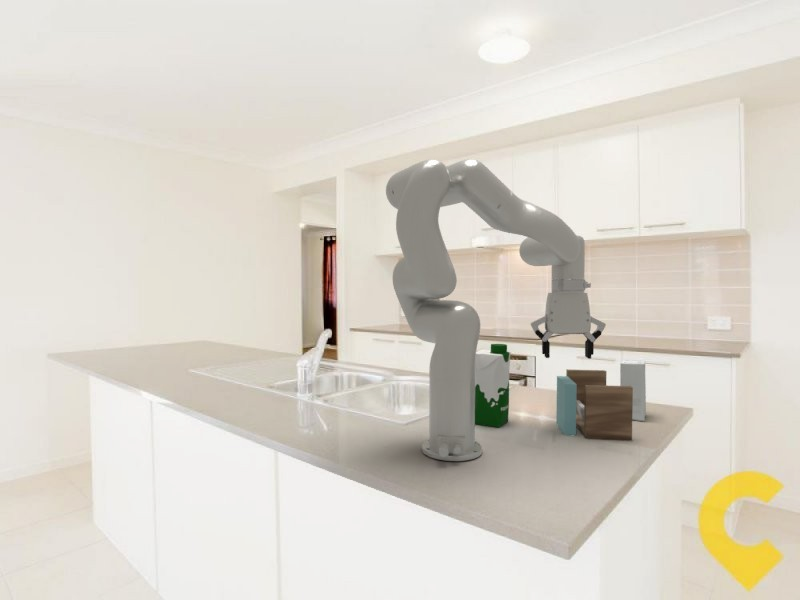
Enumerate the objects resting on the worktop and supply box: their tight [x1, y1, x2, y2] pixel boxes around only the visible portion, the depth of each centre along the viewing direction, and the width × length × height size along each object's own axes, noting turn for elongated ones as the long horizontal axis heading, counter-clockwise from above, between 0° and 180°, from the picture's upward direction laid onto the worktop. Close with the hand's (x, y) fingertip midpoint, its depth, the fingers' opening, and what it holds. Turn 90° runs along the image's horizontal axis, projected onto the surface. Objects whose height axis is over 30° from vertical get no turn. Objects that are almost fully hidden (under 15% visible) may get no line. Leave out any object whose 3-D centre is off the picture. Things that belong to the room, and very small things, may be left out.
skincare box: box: [619, 359, 647, 422], centre depth 128 cm, size 8×6×15 cm
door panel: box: [555, 375, 577, 437], centre depth 116 cm, size 10×3×12 cm, turn 172°
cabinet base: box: [565, 369, 633, 441], centre depth 119 cm, size 22×10×12 cm, turn 172°
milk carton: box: [475, 343, 511, 429], centre depth 122 cm, size 9×9×20 cm
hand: (567, 357), depth 116 cm, fingers open, 9 cm apart
